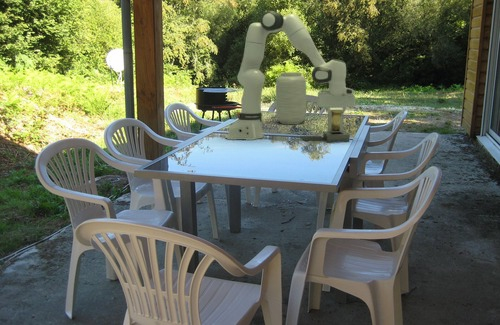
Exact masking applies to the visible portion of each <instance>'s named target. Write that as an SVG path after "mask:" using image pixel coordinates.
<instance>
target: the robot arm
mask: <svg viewBox="0 0 500 325" xmlns="http://www.w3.org/2000/svg"><path fill="white" fill-rule="evenodd" d="M259 21H260V22H252V23H250V24H249V26H248V29H247V32H246V37H245V45H244V51H243V57H242V61H241V63H240V68H239V71H238V74H237V77H236V78H237V81H238V83H239V85H241V86H242V87H243V92H242V96H241V102H240V103H241V111H240V112H237V113H236V115H237V118H238V119H237V120H236V121H235V122H232V123H231V124H230V126H229V129H228V133H227V134H224V139H226V138H227V139H226V140H236V139H246V140H247V141H249V140H250V141H252V140H253V141H254V140H258V139H262V138H264V137H265V136H264V132H263V126H262V121H263V114H262V101H261V100H262V94H263V88H264V85H265V81H266V77H265V74H264V73H263V72H262V71H261V70H260V67H261V65H262V62H263V60H264V57H265V55H264V54H265V50H266V49H265V47H266V40H267V37H268V35H269V36H270V35H273V34H278V33H281V32H283V33H284V34H285V36H286V37H287V39H288V40H289V42H290V43H291V45H292V46H293V47H294V48H295V50H298V51H299V52H302V53H303V54H304V55H306V56H307V57H308V59H309V61H310V62H311V63H312V65H313V66H314V68H313V70H312V71H311V78H312V80H313V81H314V82H315V83H316V84H321V85H322V84H328V89H326V90H323V89H321V90H319V91H318V92H317V98H318V99H317V106H318V108H326V110H327V113H328V112H329V116H332V113H331V112H330V111H329V110H330V108H342V109H343V111H342V113H341V116H343V117H344V114H345V112H346V110H347V109H348V108H355V107H356V96H355V90H354V89H353V88H349V87H346V86H347V85H346V78H347V67H346V66H347V64H346V62H345V61H344V60H341V59H335V58H333V59H331V60H330V61H328V62H326V60H325V59H324V58H323V56H322V55H321V53H320V51H319V50H318V49H317V47H316V45H315V42H314V40H313V39H312V37H311V34H310V32H309V31H308V28H307V27H306V25H305V24H304V22H303V21H302V19H301V18H300V17H299V16H298V15H297V14H295V13H289V14H286V15H282V14H281V13H279V12H277V11H274V10H266V11H264V12H263V13H262V15H261V16H260V20H259ZM246 140H245V141H246Z"/></svg>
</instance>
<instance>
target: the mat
mask: <svg viewBox="0 0 500 325" xmlns="http://www.w3.org/2000/svg"><path fill="white" fill-rule="evenodd" d="M300 138H301V140H302V141H303V142H309V141H310V142H313V141H314V142H315V141H316V142H318V141H319V142H320V141H325V139H324V138H323V135H309V136H307V135H304V136H303V135H302V136H301V135H300Z"/></svg>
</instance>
